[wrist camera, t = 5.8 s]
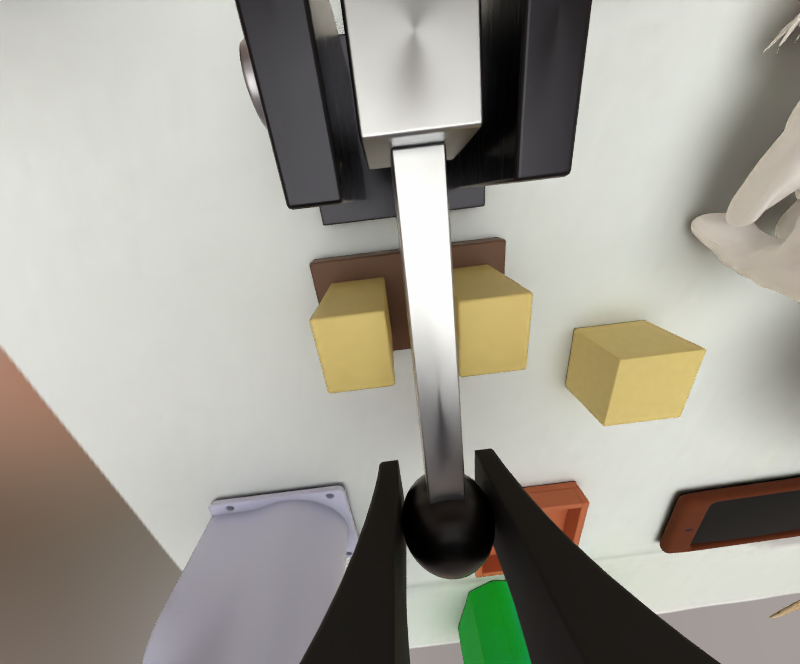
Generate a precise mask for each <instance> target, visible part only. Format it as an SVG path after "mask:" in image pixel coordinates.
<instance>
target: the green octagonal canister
mask: <svg viewBox="0 0 800 664" xmlns="http://www.w3.org/2000/svg"><path fill="white" fill-rule="evenodd" d="M458 631H459V637H460V643H461V649H462V655H463V661H464V664H531V660H530V657H529V653H528V650H527V646H526V642H525V639H524V636H523V632H522V629H521V625H520V622H519V618H518V615H517V611H516V608H515V605H514V602H513V599H512V596H511V593H510V590H509V587H508V584H507V581H491V582H489V583H487V584H485V585H483V586H481V587H479V588H477V589H475V590H472V591H470V592H469V595H468V598H467V601H466V604H465V608H464V611H463V614H462V618H461V621H460V624H459V627H458Z"/></svg>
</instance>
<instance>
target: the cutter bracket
mask: <svg viewBox="0 0 800 664" xmlns="http://www.w3.org/2000/svg"><path fill="white" fill-rule="evenodd" d="M235 3H236V7H237V11H238V15H239V19H240V23H241V27H242V31H243V35H244V39H243V40H242V41H241V43H240V49H239V50H240V60H241V66H242V71H243V75H244V79H245V83H246V86H247V89H248V92H249V95H250V97H251V100H252V103H253V105H254V107H255V109H256V112H257V114H258V116H259V117H260V119H261V121H262V123H263V124H264V126H265V127H266V128H267V129H268V133H269V137H270V141H271V145H272V149H273V153H274V157H275V161H276V165H277V169H278V173H279V177H280V181H281V184H282V188H283V192H284V196H285V200H286V204H287V206H288V208H289V209H293V210H294V209H302V208H310V207H318V206H319V207H320V212H321V216H322V221H323V225H333V224H341V223H350V222H358V221H366V220H374V219H382V218H391V217H396V209H395V200H394V191H393V182H392V173H391V167H387V168H378V169H369V168H368V166H367V163H366V159H365V156H364V152H363V149H362V145H361V142H360V138H359V132H358V125H357V118H356V111H355V103H354V96H353V89H352V82H351V74H350V67H349V60H348V53H347V45H346V38H345V34H338V31H337V27H336V23H335V19H334V16H333V12H332V8H331V5H330V1H329V0H235ZM591 5H592V0H481V10H482V61H483V112H484V123H483V126H482V127H481V128H480V129H479V130H478V132H477V133H476V134H475V135H474V136H473V137H472V138H471V140H470V141H469V142H468V143H467V144H466V145H465V147H464V148H463V149H462V150H461V151H460V152H459V154H458V155H457V156H456V157H455V158H454V159H452V160H447V177H448V195H449V210H457V209H465V208H473V207H481V206H484V205H485V186H489V185H498V184H507V183H516V182H525V181H533V180H541V179H549V178H558V177H565V176H567V175H568V174H570V171H571V165H572V157H573V149H574V141H575V133H576V125H577V117H578V109H579V101H580V93H581V85H582V77H583V69H584V61H585V53H586V45H587V37H588V29H589V21H590V13H591Z"/></svg>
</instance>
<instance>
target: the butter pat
mask: <svg viewBox="0 0 800 664" xmlns="http://www.w3.org/2000/svg"><path fill="white" fill-rule="evenodd" d="M705 352H706V349H705V348H702V347H700V346H698V345H696V344H694V343H692V342H690V341H688V340H685V339H683V338H681V337H679V336H677V335H675V334H673V333H671V332H668V331H666V330H664V329H662V328H660V327H658V326H656V325H654V324H651V323H649V322H647V321H645V320H642V321H634V322H625V323H617V324H609V325H601V326H593V327H585V328H577V329H575V330H574V336H573V342H572V348H571V354H570V360H569V366H568V373H567V379H566V385H565V386H566V388H567V389H568V390H569V391H570V392H571V393H572V394H573V395H574V396H575V397H576V398H577V399H578V400H579V401H580V402H581V403H582V404H583V405H584V406H585V407H586V408H587V409H588V410H589V412H590V413H591V414H592V415H593V416H594V417H595V418H596V419H597V420H598V421H599V422H600V423H601V424H602V425H603V426H610V425H618V424H626V423H635V422H643V421H651V420H659V419H667V418H675V417H680V416H681V414H682V411H683V409H684V406H685V403H686V401H687V398H688V396H689V393H690V391H691V388H692V385H693V383H694V380H695V378H696V375H697V373H698V370H699V367H700V365H701V362H702V360H703V357H704V355H705Z"/></svg>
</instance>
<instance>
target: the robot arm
mask: <svg viewBox="0 0 800 664" xmlns="http://www.w3.org/2000/svg"><path fill="white" fill-rule="evenodd" d="M475 482H476V483H477V484H478V485H479V486H480V487H481V489H482V490H483V491H484V493H485V494H486V496H487V498H488V500H489V502H490V504H491V507H492V510H493V514H494V519H495V538H494V543H493V546H494V549H495V552H496V554H497V557H498V560H499V563H500V565H501V568H502V571H503V573H504V576H505V579H506V581H507V584H508V587H509V590H510V593H511V596H512V599H513V602H514V605H515V608H516V611H517V615H518V618H519V622H520V625H521V629H522V632H523V636H524V639H525V642H526V646H527V650H528V653H529V657H530V660H531V664H720V663H719V662H718V661H716V660H715V659H714V658H712V657H711V656H710V655H708V654H707V653H706V652H704V651H703V650H701V649H700V648H699V647H697V646H696V645H695V644H694V643H692V642H691V641H690V640H688V639H687V638H686V637H684V636H683V635H682V634H680V633H679V632H678V631H677V630H675V629H674V628H673V627H672V626H670V625H669V624H668V623H666V622H665V621H664V620H663V619H661V618H660V617H659V616H658V615H656V614H655V613H654V612H652V611H651V610H650V609H649V608H648V607H646V606H645V605H644V604H643V603H642V602H641V601H639V600H638V599H637V598H636V597H635V596H633V595H632V594H631V593H630V592H629V591H627V590H626V589H625V588H624V587H623V586H621V585H620V584H619V583H618V582H617V581H615V580H614V579H613V578H612V577H611V576H610V575H608V574H607V573H606V572H605V571H604V570H603V569H602V568H601V567H600V566H598V565H597V564H596V563H595V562H594V561H593V560H592V559H591V558H590V557H589V556H588V555H586V554H585V553H584V552H583V551H582V550H581V549H580V548H579V547H578V546H577V545H576V544H575V543H574V542H573V541H572V540H571V539H570V538H569V537H568V536H567V535H566V534H565V533H564V532H563V531H562V530H561V529H560V528H559V527H558V526H557V525H556V524H555V523H554V522H553V521H552V520H551V519H550V518H549V517H548V516H547V515H546V513H545V512H544V511H543V510H542V509H541V508H540V507H539V506H538V505H537V504H536V502H535V501H534V500H533V499H532V498H531V497H530V496H529V494H528V493H527V492H526V491H525V490H524V489H523V488H522V486H521V485H520V484H519V483H518V482H517V480H516V479H515V478H514V477H513V475H512V474H511V473H510V472H509V470H508V469H507V468H506V467H505V465H504V464H503V463H502V461H501V460H500V459H499V457H498V456H497V454H496V453H495V452H494V450H492V449H483V450H475ZM403 504H404V495H403V488H402V482H401V476H400V469H399V463H398V460H394V461H386V462H382V463H381V464H380V465H379V472H378V477H377V481H376V486H375V489H374V493H373V497H372V500H371V504H370V507H369V510H368V513H367V516H366V520H365V523H364V525H363V528H362V531H361V534H360V536H359V538H358V534H357V531H356V527H355V524H354V520H353V517H352V513H351V510H350V506H349V503H348V499H347V496H346V492H345V489H344V488H343V487H342V486H329V487H321V488H313V489H305V490H297V491H289V492H281V493H273V494H264V495H256V496H248V497H240V498H232V499H224V500H216V501H213V502H212V503H211V505H210V506H209V511H210V513H211V514H212V518H211V520H210V522H209V524H208V525H207V527H206V529H205V531H204V533H203V535H202V537H201V539H200V540H199V542H198V544H197V546H196V548H195V550H194V552H193V554H192V555H191V557H190V559H189V561H188V563H187V565H186V567H185V569H184V570H183V572H182V574H181V576H180V578H179V580H178V582H177V584H176V586H175V587H174V589H173V591H172V593H171V595H170V597H169V599H168V600H167V602H166V604H165V606H164V608H163V610H162V612H161V614H160V616H159V618H158V620H157V622H156V624H155V626H154V629H153V631H152V634H151V636H150V639H149V642H148V645H147V648H146V651H145V655H144V658H143V662H142V664H410V656H409V642H408V627H407V605H406V541H405V538H404V534H403V529H402V509H403ZM346 557H351V560H350V562H349V564H348V567H347V569H346V572H345V562H346ZM344 572H345V574H344Z"/></svg>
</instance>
